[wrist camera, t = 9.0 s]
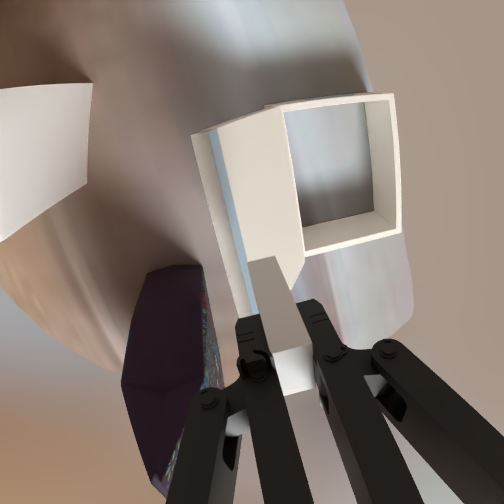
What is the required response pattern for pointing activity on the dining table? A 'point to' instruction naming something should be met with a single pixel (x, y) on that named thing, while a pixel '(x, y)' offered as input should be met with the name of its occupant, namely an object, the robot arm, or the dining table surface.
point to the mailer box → (383, 176)
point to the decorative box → (168, 364)
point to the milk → (41, 149)
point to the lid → (250, 198)
